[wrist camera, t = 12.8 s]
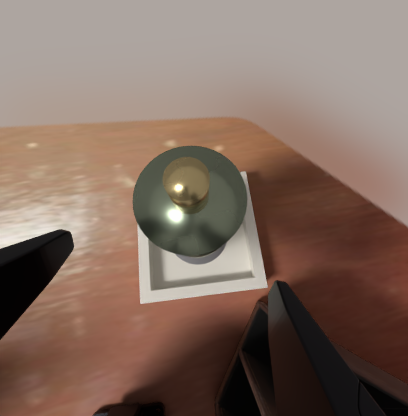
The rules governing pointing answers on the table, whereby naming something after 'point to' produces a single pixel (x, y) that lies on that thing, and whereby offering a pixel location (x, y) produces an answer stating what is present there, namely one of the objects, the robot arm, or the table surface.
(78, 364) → the table surface
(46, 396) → the table surface
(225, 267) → the tray
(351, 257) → the table surface
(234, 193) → the green bottle
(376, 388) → the letter holder
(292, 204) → the table surface
